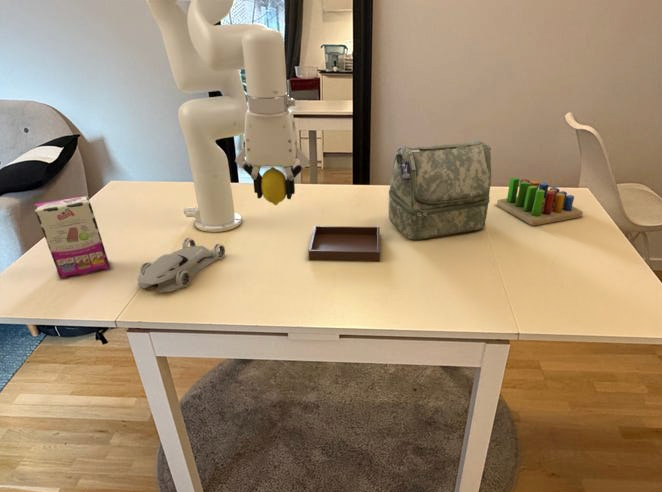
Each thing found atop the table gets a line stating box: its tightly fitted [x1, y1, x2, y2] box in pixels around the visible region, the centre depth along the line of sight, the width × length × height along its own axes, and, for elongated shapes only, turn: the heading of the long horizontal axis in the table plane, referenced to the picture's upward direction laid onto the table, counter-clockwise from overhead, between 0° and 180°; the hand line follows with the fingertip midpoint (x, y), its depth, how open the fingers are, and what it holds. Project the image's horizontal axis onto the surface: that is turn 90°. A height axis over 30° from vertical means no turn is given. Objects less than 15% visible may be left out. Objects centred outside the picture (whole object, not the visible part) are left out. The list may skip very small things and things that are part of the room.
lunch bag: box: [387, 140, 492, 240], centre depth 143 cm, size 26×18×22 cm
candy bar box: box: [34, 195, 111, 280], centre depth 123 cm, size 11×5×16 cm, turn 118°
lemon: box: [261, 166, 287, 206], centre depth 114 cm, size 6×6×8 cm
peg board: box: [496, 176, 584, 226], centre depth 156 cm, size 18×17×9 cm
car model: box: [136, 237, 226, 293], centre depth 126 cm, size 11×24×5 cm, turn 158°
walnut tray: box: [308, 225, 381, 263], centre depth 138 cm, size 17×15×2 cm
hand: (275, 195), depth 115 cm, fingers closed on lemon, 5 cm apart
